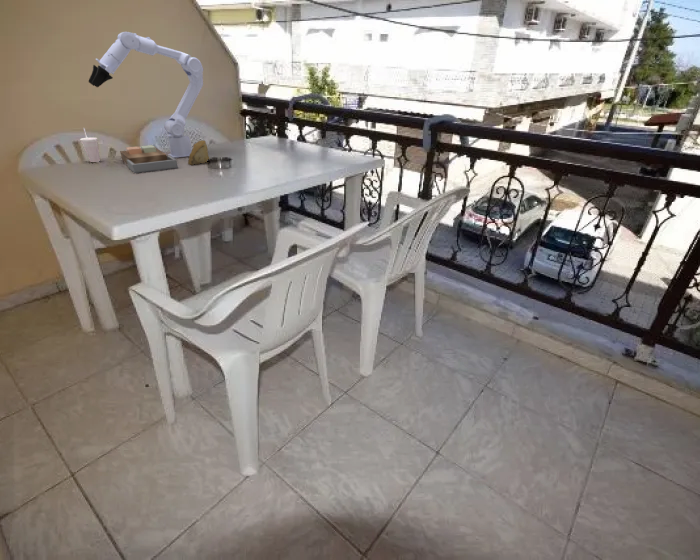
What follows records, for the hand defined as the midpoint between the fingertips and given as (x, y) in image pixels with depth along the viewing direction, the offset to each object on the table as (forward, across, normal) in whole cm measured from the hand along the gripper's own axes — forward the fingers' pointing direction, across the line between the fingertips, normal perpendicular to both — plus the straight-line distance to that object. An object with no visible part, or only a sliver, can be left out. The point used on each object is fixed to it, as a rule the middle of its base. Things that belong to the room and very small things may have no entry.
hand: (92, 84), depth 150 cm
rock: (-1, +19, +43) cm, 47 cm away
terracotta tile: (+12, +4, +25) cm, 28 cm away
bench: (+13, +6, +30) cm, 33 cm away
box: (+13, +19, +30) cm, 37 cm away
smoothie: (+26, -5, +18) cm, 32 cm away
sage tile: (+8, +4, +29) cm, 30 cm away
